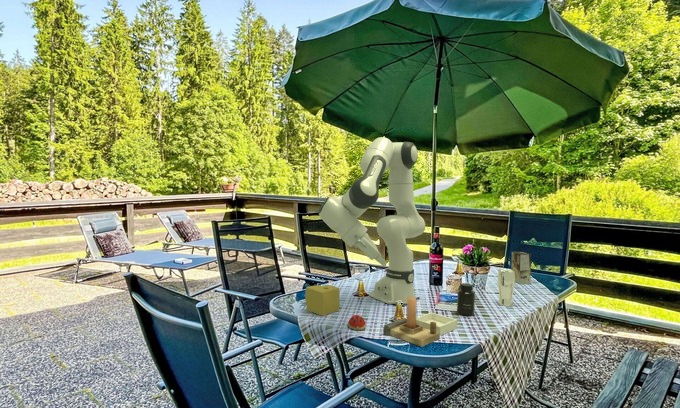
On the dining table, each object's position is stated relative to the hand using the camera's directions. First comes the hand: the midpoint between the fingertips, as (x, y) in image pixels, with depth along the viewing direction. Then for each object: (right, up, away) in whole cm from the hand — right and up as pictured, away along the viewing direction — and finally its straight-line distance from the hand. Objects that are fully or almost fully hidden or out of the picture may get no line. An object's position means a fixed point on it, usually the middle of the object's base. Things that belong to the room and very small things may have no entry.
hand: (384, 262), depth 136 cm
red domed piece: (-9, -25, +9) cm, 28 cm away
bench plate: (+9, -25, 0) cm, 27 cm away
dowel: (+9, -23, -1) cm, 25 cm away
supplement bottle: (+36, -25, +24) cm, 50 cm away
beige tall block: (+58, -24, +37) cm, 73 cm away
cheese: (-23, -24, +26) cm, 42 cm away
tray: (+20, -25, +7) cm, 33 cm away
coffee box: (+83, -22, +77) cm, 116 cm away
